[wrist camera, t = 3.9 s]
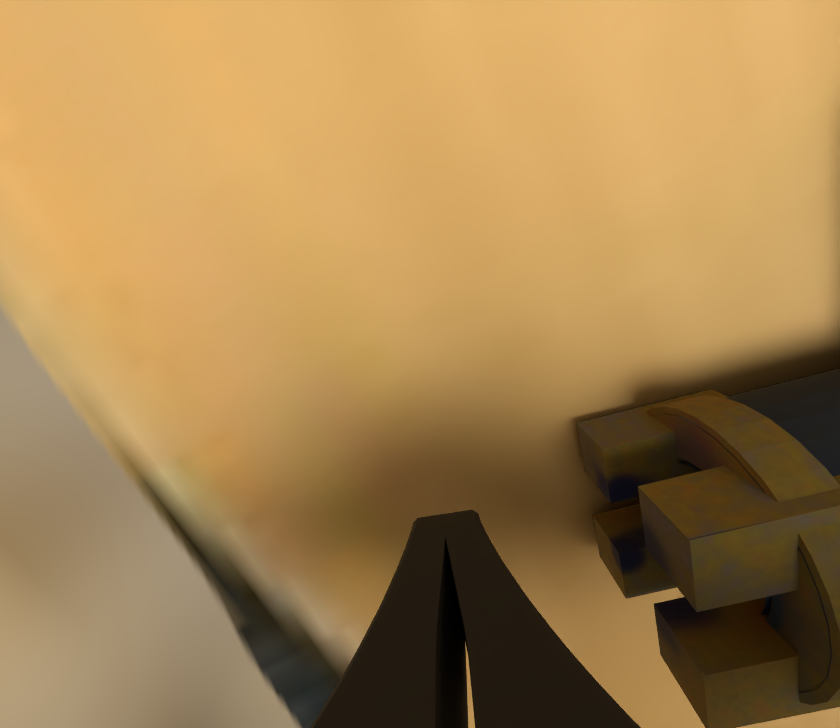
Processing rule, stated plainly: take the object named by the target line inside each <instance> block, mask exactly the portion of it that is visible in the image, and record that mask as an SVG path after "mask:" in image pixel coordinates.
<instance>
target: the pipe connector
mask: <svg viewBox="0 0 840 728" xmlns="http://www.w3.org/2000/svg"><path fill="white" fill-rule="evenodd" d="M577 429H578V434H579V440H580V446H581V451H582V457H583V463H584V468H585V471H586V473H587V474H588V475H589V476H590V478H591V479H592V480H593V481H594V483H595V484H596V485H597V486H598V488H599V489H600V490H601V491H602V493H603V494H604V495H605V497H606V498H607V499H608V500H609V502H610V503H614V502H618V501H623V500H627V499H631V498H635V497H639V499H640V504H636V505H632V506H628V507H624V508H619V509H615V510H611V511H607V512H603V513H598V514H594V515H593V519H594V525H595V531H596V536H597V542H598V548H599V553H600V557H601V559H602V560H603V562H604V564H605V565H606V567H607V568H608V570H609V572H610V573H611V575H612V576H613V578H614V580H615V581H616V583H617V585H618V586H619V588H620V589H621V591H622V593H623V594H624V596H625V598H631V597H635V596H640V595H644V594H649V593H653V592H658V591H662V590H667V589H671V588H676V587H677V588H678V589H679V590H680V591H681V593H682V594H683V595H684V596H685V597H683V598H678V599H674V600H669V601H665V602H660V603H655V604H654V609H655V616H656V624H657V631H658V638H659V646H660V653H661V656H662V658H663V659H664V661H665V663H666V664H667V666H668V667H669V669H670V671H671V672H672V674H673V676H674V677H675V679H676V680H677V682H678V684H679V685H680V687H681V688H682V690H683V692H684V693H685V695H686V697H687V698H688V700H689V701H690V703H691V705H692V706H693V708H694V710H695V711H696V713H697V714H698V716H699V718H700V719H701V721H702V723H703V724H704V726H705V727H706V728H736V727H741V726H746V725H751V724H756V723H761V722H766V721H771V720H776V719H781V718H786V717H791V716H796V715H801V714H806V713H811V712H816V711H821V710H826V709H831V708H836V707H840V369H836V370H832V371H828V372H824V373H820V374H816V375H812V376H808V377H804V378H800V379H796V380H792V381H788V382H784V383H780V384H776V385H772V386H768V387H764V388H760V389H756V390H752V391H748V392H744V393H740V394H736V395H732V396H726V395H723V394H721V393H719V392H717V391H715V390H712V389H709V390H705V391H701V392H697V393H693V394H689V395H685V396H681V397H677V398H673V399H669V400H665V401H661V402H657V403H653V404H649V405H645V406H641V407H637V408H633V409H629V410H625V411H621V412H617V413H613V414H609V415H605V416H601V417H597V418H593V419H589V420H585V421H581V422H578V423H577Z"/></svg>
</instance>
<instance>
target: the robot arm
mask: <svg viewBox="0 0 840 728" xmlns="http://www.w3.org/2000/svg"><path fill="white" fill-rule="evenodd" d="M465 642H466V647H467V651H468V657H469V667H470V677H471V687H472V698H473V708H474V719H475V728H641V727H640V726H639V725H637V724H636V723H635V722H634V721H633V720H632V719H631V717H630V716H629V715H628V714H627V713H626V712H625V711H624V710H623V709H622V708H621V707H620V706H619V705H618V704H617V703H616V702H615V700H614V699H613V698H612V697H611V696H610V695H609V694H608V693H607V692H606V691H605V690H604V689H603V688H602V686H601V685H600V684H599V683H598V682H597V681H596V680H595V679H594V678H593V677H592V675H591V674H590V673H589V672H588V671H587V670H586V669H585V668H584V666H583V665H582V664H581V663H580V662H579V661H578V660H577V658H576V657H575V656H574V655H573V654H572V653H571V652H570V650H569V649H568V648H567V647H566V646H565V644H564V643H563V642H562V641H561V640H560V638H559V637H558V636H557V635H556V633H555V632H554V631H553V630H552V629H551V627H550V626H549V625H548V623H547V622H546V621H545V620H544V618H543V617H542V616H541V614H540V613H539V612H538V611H537V609H536V608H535V607H534V605H533V604H532V603H531V601H530V600H529V599H528V597H527V596H526V595H525V593H524V592H523V590H522V589H521V588H520V586H519V585H518V583H517V582H516V580H515V579H514V577H513V576H512V574H511V573H510V571H509V570H508V569H507V567H506V566H505V564H504V563H503V561H502V559H501V558H500V556H499V555H498V553H497V551H496V550H495V548H494V546H493V544H492V543H491V541H490V539H489V537H488V535H487V534H486V532H485V530H484V527H483V525H482V523H481V521H480V518H479V515H478V513H476V512H475V511H473V510H468V511H461V512H454V513H448V514H441V515H434V516H427V517H421V518H417V519H416V521H415V522H414V523H413V526H412V530H411V533H410V536H409V539H408V542H407V544H406V547H405V550H404V552H403V555H402V557H401V560H400V562H399V565H398V567H397V570H396V572H395V574H394V576H393V579H392V581H391V583H390V585H389V588H388V590H387V592H386V594H385V597H384V599H383V601H382V603H381V605H380V607H379V609H378V611H377V613H376V615H375V617H374V619H373V621H372V623H371V625H370V627H369V628H368V630H367V632H366V634H365V636H364V638H363V640H362V642H361V644H360V646H359V648H358V650H357V651H356V653H355V655H354V657H353V658H352V660H351V662H350V664H349V666H348V667H347V669H346V671H345V672H344V674H343V676H342V678H341V679H340V681H339V683H338V684H337V686H336V688H335V689H334V691H333V692H332V694H331V696H330V697H329V699H328V701H327V702H326V704H325V706H324V707H323V709H322V710H321V712H320V713H319V715H318V716H317V718H316V719H315V721H314V722H313V724H312V725H311V727H310V728H468V706H467V677H466V650H465Z"/></svg>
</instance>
